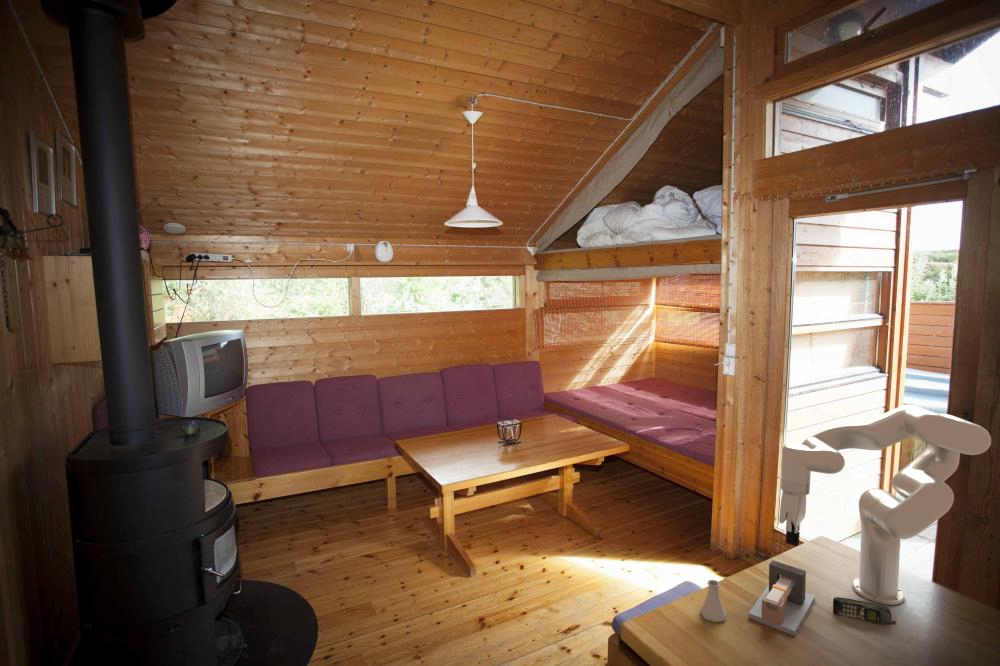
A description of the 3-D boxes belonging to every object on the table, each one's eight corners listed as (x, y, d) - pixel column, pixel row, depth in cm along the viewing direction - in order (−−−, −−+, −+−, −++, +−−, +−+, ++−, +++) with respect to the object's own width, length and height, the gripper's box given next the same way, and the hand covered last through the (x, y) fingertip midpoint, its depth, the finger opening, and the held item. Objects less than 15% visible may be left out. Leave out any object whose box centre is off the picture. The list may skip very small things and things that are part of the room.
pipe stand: (771, 585, 167) (771, 560, 166) (814, 600, 158) (815, 574, 157) (748, 617, 152) (748, 590, 151) (794, 636, 144) (795, 608, 143)
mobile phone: (833, 600, 151) (898, 611, 145) (832, 594, 154) (895, 605, 147) (833, 616, 152) (898, 628, 145) (832, 610, 154) (895, 621, 148)
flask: (729, 624, 150) (729, 591, 149) (702, 622, 152) (702, 589, 150) (724, 608, 157) (724, 576, 156) (698, 606, 159) (698, 574, 157)
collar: (771, 587, 162) (772, 560, 161) (805, 599, 156) (805, 570, 155) (768, 592, 160) (769, 564, 159) (802, 604, 154) (802, 575, 153)
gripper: (788, 474, 167) (786, 530, 169) (773, 490, 156) (770, 549, 158) (816, 481, 162) (813, 538, 164) (802, 497, 151) (798, 558, 153)
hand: (792, 543), depth 161 cm, fingers closed
